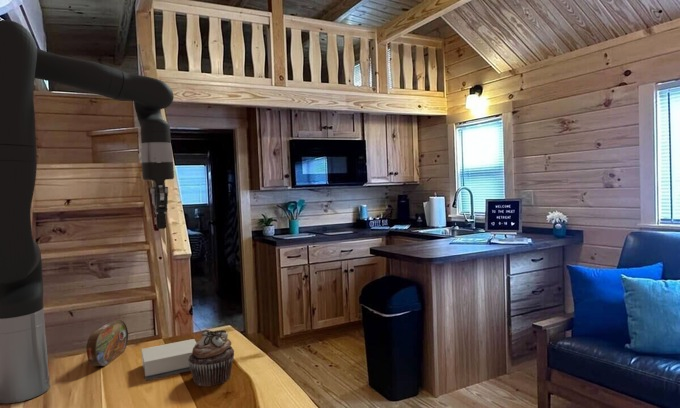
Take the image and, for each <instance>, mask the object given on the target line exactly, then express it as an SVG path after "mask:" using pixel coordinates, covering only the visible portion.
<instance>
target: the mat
mask: <svg viewBox="0 0 680 408" xmlns="http://www.w3.org/2000/svg"><path fill="white" fill-rule="evenodd" d="M142 370H144V367H143V366H142ZM187 372H191V369H190V367H189V368H185V369H180V370H175V371H171V372H166V373H162V374H157V375H152V376H148V377H147V376H145V372H144V371H143V374H144V378H145V379H144V380H145V381H150V380H155V379H159V378H160V379H161V378H164V377H168V376H173V375H178V374H182V373H187Z"/></svg>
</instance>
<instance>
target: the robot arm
mask: <svg viewBox="0 0 680 408" xmlns="http://www.w3.org/2000/svg"><path fill="white" fill-rule="evenodd" d="M35 79H38V80H41V81H42V80H43V81H47V82H52V83H57V84H60V85H64V86H67V87H72V88H75V89H78V90H83V91H85V92H88V93H91V94H95V95H99V96H102V97H106V98H108V99H112V100H116V101H119V102H120V101H121V102H122V101H123V102H126V101H133V104H134V110H135V114H136V117H137V120H138V123H139V126H140V143H141V146H140V147H141V149H140V158H141V160H140V161H141V169H142V170H141V172H142V180H144V181H151V182H152V187H149V188H150V189H149V190H150V194H151V200H152V202H151V203H152V205H153V210H154V213H155V219H156V220H155V221H156V223H155V224H156V228H157V229H158V230H164V229H166V228H167V213H168V204H169V199H168V196H169V187H168V186H166V182H165V181H166V180H173V179H174V178H175V171H174V169H175V167H174V156H173V154H174V153H173V148H172V147H173V146H172V137H171V127H170V124H169V122H168V121H167V120H165V119H163V115H162V111H161V110H164V109H166V108H168V107H170V106H171V105H172V104H173V102H174V98H175V97H174V91H173V90H172V88H171V86H169V84H167V83H166V82H164V81H162V80H161V79H158V78H154V77H149V76H145V75H139V74H135V73H134V74H132V73H128V72H125V71H123V70H121V69H119V68H115V67H112V66H109V65H106V64H104V63H103V64H102V63H100V62H97V61H91V60H86V59H80V58H74V57H68V56H65V55H64V56H63V55H60V54H56V53H52V52H49V51H46V50H43V49H40V48H38V47H37V43H36V40H35V39H34V37H33V35H32V34H31V32H30V31H29V30H28V29H27V28H26V27H25V26H24V25H22V24H20V23H19V22H16V21H14V20H9V19H2V20H0V404H15V402H16V403H20V402H25V401H27V400H30V399H34V398H37V397H38V396H40V395H43V394H44V393H46V392H47V391H48V390H49V389H50V375H49V360H48V359H49V358H48V347H47V337H46V336H47V334H46V324H45V323H46V322H45V309H44V280H43V265H42V264H43V263H42V261H43V260H42V253H41V248H40V247H39V245H38V243H37V242H36V240H34V238H33V237H34V236H33V230H32V229H33V228H32V220H31V218H32V216H31V212H32V202H33V199H34V198H33V197H34V191H35V186H36V179H37V169H38V168H37V166H38V163H37V162H38V161H37V159H38V158H37V157H38V156H37V155H38V154H37V136H36V135H37V133H36V116H35V115H36V113H35V104H34V103H35V102H34V89H35Z"/></svg>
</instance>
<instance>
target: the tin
mask: <svg viewBox="0 0 680 408" xmlns="http://www.w3.org/2000/svg"><path fill="white" fill-rule="evenodd" d="M128 341H129V332H128V326H127V324H126V323H125V321H123V320H114V321H113V320H112V321H109V322H107V323H105V325H103V326H101V327H100V328H98V329H97V330H95V331H94V332H92V333H91V334H90V335H89V337H88V339H87V342H86V345H85V346H86V355H87V356H86V357H87V361H88V363H89V364H90V366H92V367H106V366H108V365H109V364H110V363H112V362H113V361H114V360H116V359H117V358H118V357H120V356H121V355H122V354H123V353H124V352H125V350H126V349H127V345H128Z"/></svg>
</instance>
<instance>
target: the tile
mask: <svg viewBox="0 0 680 408" xmlns="http://www.w3.org/2000/svg"><path fill="white" fill-rule="evenodd" d="M196 343H197V341H196V339H195V338H192V339H191V338H190V339H186V340H181V341H175V342H170V343H165V344H161V345H156V346H155V345H154V346H150V347H143V348H141V361H142V368H143V367H144V369H143V373H144V372H145V374H144V377H145V376H147V377H148V376H152V375H157V374H162V373H166V372H171V371H175V370H180V369H185V368H189V367H190V366H189V363H188V359H189V356H191V354H192V353H193V352H192V351H193V348H194V346H195V345H196Z"/></svg>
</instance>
